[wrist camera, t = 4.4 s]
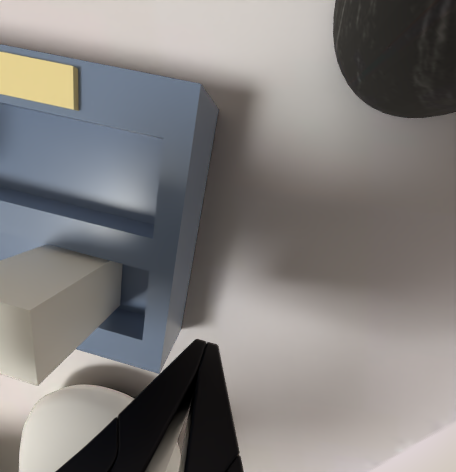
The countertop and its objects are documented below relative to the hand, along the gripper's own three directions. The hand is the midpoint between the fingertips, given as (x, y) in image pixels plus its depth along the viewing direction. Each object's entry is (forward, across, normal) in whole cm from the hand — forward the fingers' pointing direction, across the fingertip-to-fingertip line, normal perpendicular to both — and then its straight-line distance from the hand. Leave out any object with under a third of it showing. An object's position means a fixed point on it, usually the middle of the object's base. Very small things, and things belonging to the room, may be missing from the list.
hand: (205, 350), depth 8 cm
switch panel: (+4, +10, -2) cm, 11 cm away
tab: (+3, +7, 0) cm, 7 cm away
